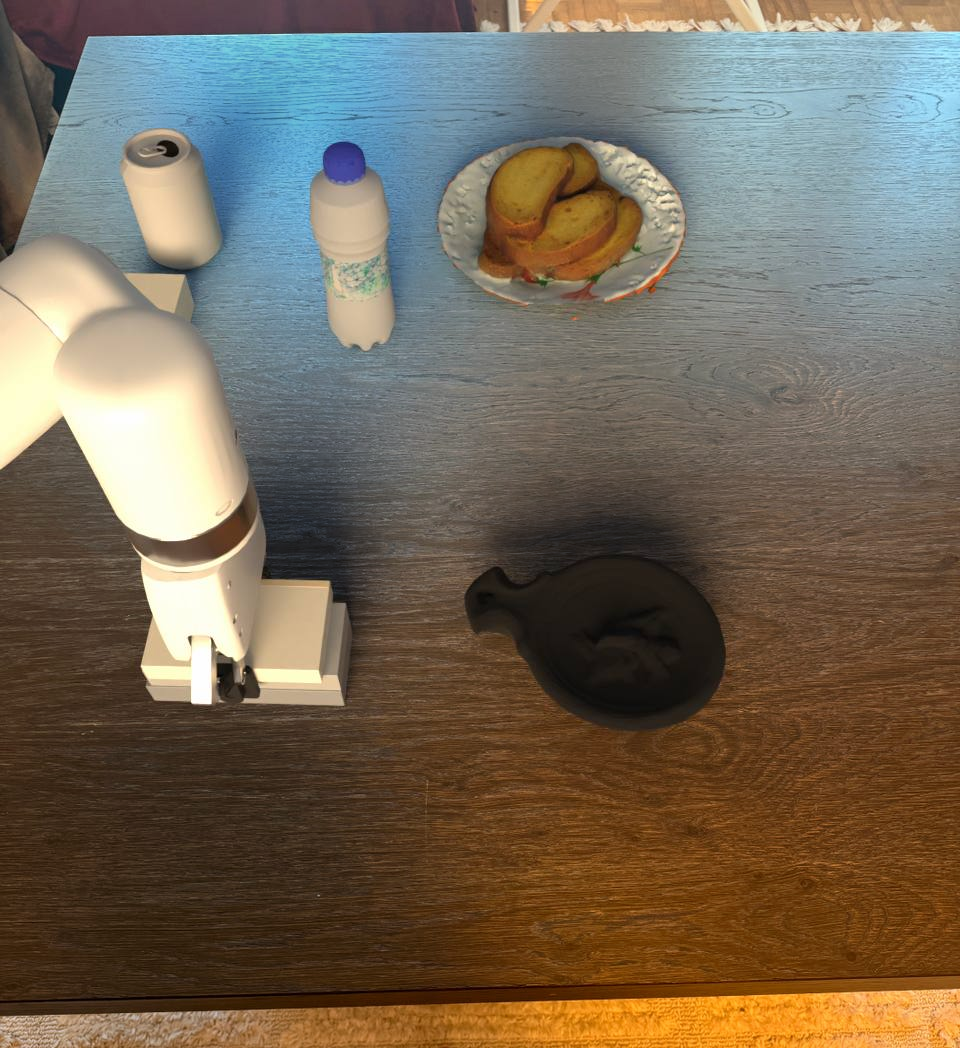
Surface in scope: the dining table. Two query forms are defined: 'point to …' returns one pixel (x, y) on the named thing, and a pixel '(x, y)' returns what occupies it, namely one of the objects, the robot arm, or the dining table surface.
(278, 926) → the dining table surface
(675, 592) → the oil lamp
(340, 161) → the bottle
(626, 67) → the dining table surface
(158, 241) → the can
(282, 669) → the cream flat block
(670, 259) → the food on plate
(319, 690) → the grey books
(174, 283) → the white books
